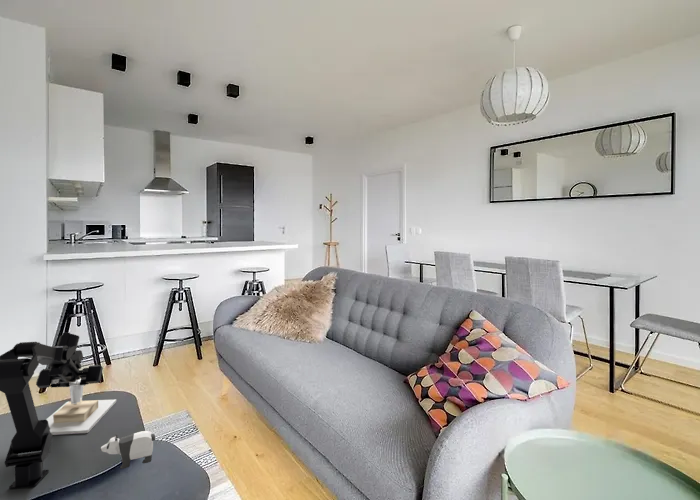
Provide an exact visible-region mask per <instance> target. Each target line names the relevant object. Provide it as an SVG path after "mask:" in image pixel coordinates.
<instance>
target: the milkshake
mask: <svg viewBox="0 0 700 500" xmlns="http://www.w3.org/2000/svg"><path fill="white" fill-rule="evenodd" d="M80 381H81V378H80V380H76V382H69V387H68V388H69V394H70V401H71V405H78V404H80V403H82V401H83V393H84V386H83V385H80Z"/></svg>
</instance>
